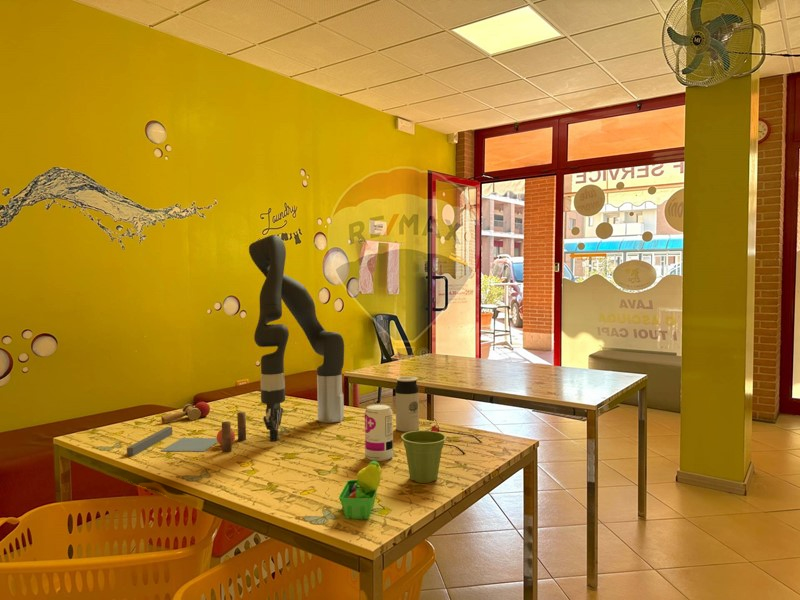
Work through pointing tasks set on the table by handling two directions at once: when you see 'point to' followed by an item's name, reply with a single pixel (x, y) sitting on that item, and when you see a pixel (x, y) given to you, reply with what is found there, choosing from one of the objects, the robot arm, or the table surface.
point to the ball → (219, 437)
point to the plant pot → (423, 454)
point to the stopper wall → (149, 441)
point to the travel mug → (407, 404)
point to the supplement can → (378, 432)
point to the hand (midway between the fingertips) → (274, 441)
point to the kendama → (189, 412)
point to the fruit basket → (361, 492)
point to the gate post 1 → (226, 437)
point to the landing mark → (191, 444)
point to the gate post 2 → (241, 426)
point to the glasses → (450, 432)
